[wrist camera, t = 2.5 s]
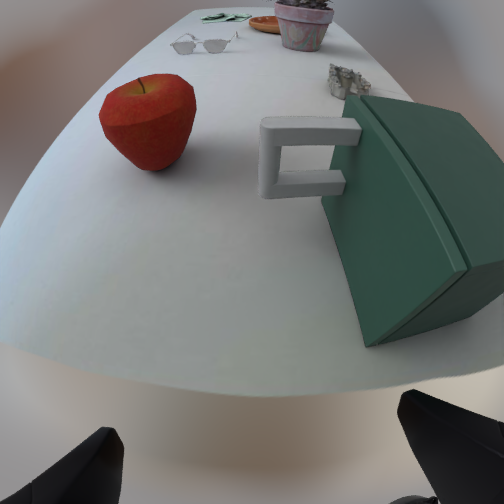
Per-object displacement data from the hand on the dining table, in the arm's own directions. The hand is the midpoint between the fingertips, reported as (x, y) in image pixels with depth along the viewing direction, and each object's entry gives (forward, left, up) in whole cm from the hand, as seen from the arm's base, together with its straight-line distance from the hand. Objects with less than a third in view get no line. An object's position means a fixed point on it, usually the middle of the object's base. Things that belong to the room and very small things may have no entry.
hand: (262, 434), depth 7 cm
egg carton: (+49, -24, -14) cm, 57 cm away
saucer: (+103, -23, -14) cm, 107 cm away
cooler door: (+12, -7, -13) cm, 19 cm away
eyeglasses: (+83, +2, -14) cm, 85 cm away
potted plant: (+79, -22, -14) cm, 84 cm away
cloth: (+129, -4, -14) cm, 130 cm away
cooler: (+12, -17, -14) cm, 25 cm away
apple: (+29, +8, -14) cm, 33 cm away
